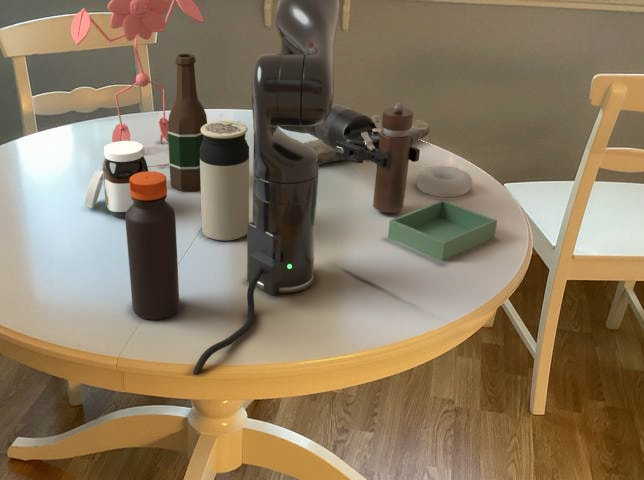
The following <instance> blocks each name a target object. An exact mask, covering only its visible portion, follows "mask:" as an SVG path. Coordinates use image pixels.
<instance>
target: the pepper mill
mask: <svg viewBox="0 0 644 480" xmlns="http://www.w3.org/2000/svg"><path fill="white" fill-rule="evenodd" d="M382 116H383V121H382V127H383V128H384V129H383V130H382V131H381V132H380V139H379V150H381V151H383V152H385V153H387V154H389V155H391V166H390V168H384V167H382V166H379V165H378V164H376V168H375V169H376V170H375V178H374V179H375V180H374V190H373V200H372V207H373V208H374V210H377V211H379V212H384V213H397V212H400V211H402V210H403V208H404V204H405V198H406V197H405V195H406V189H407V188H406V187H407V179H408V170H409V162H410V160H409V155H410V147H411V138H412V133H411V132H410V131H409V129H410V128H411V127H412V120H413V119H414V118H413V117H414V111H413V110H411V109H409V108H406V107H404V104H403V103H401V102H397V103H395V104H394V106H393V107H387V108H385V109H384V110H383V111H382Z"/></svg>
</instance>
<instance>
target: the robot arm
mask: <svg viewBox="0 0 644 480" xmlns="http://www.w3.org/2000/svg"><path fill="white" fill-rule="evenodd" d="M339 13H340V0H278V2H277V7H276V12H275V27H276V31H277V33H278V35H279V37H280V39H281V43H280V53H263V54H261V55H259V56H258V57H257V58H256V60H255V62H254V65H253V68H252V73H251V106H252V107H251V109H252V110H251V111H252V123H253V124H252V127H253V128H252V129H253V162H252V163H253V165H252V222H249V224H248V226H247V234H246V235H247V236H246V237H247V238H246V239H247V240H246V241H247V242H246V248H247V249H246V251H247V252H246V256H247V257H246V258H247V259H246V268H247V269H246V281H247V282H249V284H248V287H247V293H246V301H247V303H246V304H247V319H246V321H245V323H244V324H243V325H242V327H240V328H238V330H236V331H235V332H233V334H231V335H230V336H228V337H227V338H225V339H223V340H220V341H219V342H217V343H214V344H213V345H211V346H209V347H208V348H207V349H205V351H204V352H203V353H202V354H201V356H200V357H199V358H198V360H197V362H196V363H195V366H194V368H193V371H192V375H194V376H199V375H200V374H201V373H202V370H203V368H204V366H205V364H206V362H207V361H208V359H210V357H211V356H212V355H214V354H215V353H217V352H218V351H220V350H222V349H225V348H227V347H228V346H230V345H232V344H234V343H235V342H237V340H239V339H240V338H241V337H243V336H244V335H245V334H246V333H247V332H248V331H249V330H250V329H251V327H252V326H253V323H254V322H255V297H254V295H255V289H256V287H257V288H258V289H260V290H262V291H264V292H266V293H268V294H269V295H271V296H276V295H279V294H293V293H297V292H301V291H305V290H306V289H308V288H309V287H311V286H312V284H313V283H314V277H315V273H314V266H315V265H314V264H315V263H314V262H315V245H316V244H315V241H316V224H317V208H318V207H317V206H318V204H317V203H318V189H319V187H318V186H319V172H320V171H319V170H320V169H319V167H320V164H319V157H318V154H317V152H316V151H315V150H314V149H313V148H312V147H310V146H308V145H306V144H304V143H305V142H302V141H299V140H298V139H297V140H296V139H295V138H292V137H290V136H289V135H287V134H286V133H285V132H283V131H282V130H284V131H287V132H292V133H299V134H308V135H311V136H312V137H314V138H316V139H317V140H318V139H320V140H321V141H323V142H324V143H325V144H326V145H328V146H330V147H332V148H334V149H336V151H335V155H336V156H339V157H341V158H344V159H345V160H347V161H350V162H352V163H355V164H359V165H360V164H361V165H362V164H364V162H365V161H366V162H367V163H369V164H372V163H374V164H376V165H377V164H378V165H379V166H382V167H384V168H390V166H391V155H389V154H387V153H385V152H383V151H381V150H379V139H380V132H381V131H382V130H381V129H377V128H376V126H375V124H374V122H373V120H372V119H371V118H372V117H369V116H368V115H365V113H362V112H359V111H357V110H355V109H353V108H351V107H348V106H346V105H342V104H339V103H336V102H335V101H334V93H335V42H336V34H337V28H338V24H339V23H338V22H339ZM413 139H414V138H413V137H412V138H411V147H410V155H409V161H410V162H413V163H415V162H419V160H420V154H421V153H420V152H421V150H420V148H419V147H416V146H414V145H413V144H414V143H413Z"/></svg>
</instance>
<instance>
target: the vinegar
mask: <svg viewBox="0 0 644 480" xmlns="http://www.w3.org/2000/svg"><path fill="white" fill-rule="evenodd" d="M129 182H130V194H131V199H132V200H133V204H132V205H131V206H130V208H129V209H128V210H127V212H126V214H125V218H124V219H125V220H124V221H125V231H126V232H125V233H126V243H127V255H128V256H127V257H128V268H129V281H130V293H131V306H132V310H133V313H134V314H135V315H136V316H137V317H140V318H142V319H145V320H151V321H153V320H154V321H158V320H165V319H167V318H171V317H172V316H174V315H175V314H177V312H178V311H179V309H180V288H179V267H178V265H179V263H178V245H177V224H176V223H177V222H176V211H175V209H174V208H173V207H172V206H171V205H170V204H169V203H168V202H166V199H167V197H168V183H167V176H166V175H165V173H161V172H159V171H152V170H151V171H150V170H148V171H147V172H140V173H136V174H134V175H132V176H131V177H130V179H129Z"/></svg>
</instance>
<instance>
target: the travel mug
mask: <svg viewBox="0 0 644 480" xmlns="http://www.w3.org/2000/svg"><path fill="white" fill-rule="evenodd" d="M248 129H249V128H248V126H247V124H244V123H242V122H239V121H235V120H216V121H211V122H207V124H205V125H203V126H202V127H201V133H202V134H203V139H204V140H203V142H202V144H201V146H200V178H201V190H200V209H201V232H202V234H203V235H204V236H205V237H207V238H210V239H212V240H215V241H225V242H227V241H228V242H229V241H234V240H238V239H240V238H243V237H245V236H246V235H247V226H248V224H249V223H250V145H249V144H248V142H247V140H246V136H247V133H248Z"/></svg>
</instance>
